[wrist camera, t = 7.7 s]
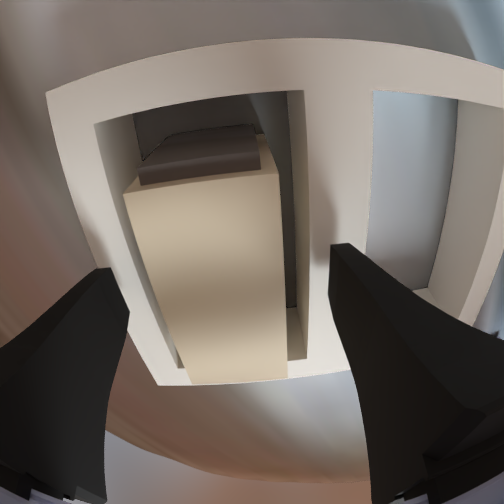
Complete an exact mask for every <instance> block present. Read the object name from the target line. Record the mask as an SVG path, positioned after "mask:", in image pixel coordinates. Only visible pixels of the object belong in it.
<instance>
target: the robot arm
mask: <svg viewBox="0 0 504 504" xmlns="http://www.w3.org/2000/svg"><path fill="white" fill-rule="evenodd" d="M328 299H329V303H330V308H331V312H332V316H333V320H334V323H335V326H336V329H337V332H338V335H339V337H340V340H341V343H342V346H343V349H344V351H345V354H346V357H347V360H348V363H349V366H350V368H351V371H352V374H353V377H354V381H355V384H356V388H357V392H358V397H359V402H360V407H361V412H362V418H363V424H364V430H365V436H366V443H367V451H368V459H369V469H370V481H371V499H372V504H504V340H502V339H501V338H500V337H499V336H498V337H495V336H492V335H490V334H487V333H485V332H483V331H481V330H478V329H476V328H474V327H472V326H470V325H468V324H466V323H464V322H462V321H460V320H458V319H456V318H454V317H453V316H451V315H449V314H447V313H445V312H444V311H442V310H440V309H439V308H437V307H435V306H434V305H432V304H431V303H429V302H427V301H426V300H424V299H423V298H421V297H420V296H418V295H417V294H415V293H414V292H412V291H411V290H410V289H408V288H407V287H405V286H404V285H402V284H401V283H400V282H398V281H397V280H396V279H394V278H393V277H392V276H391V275H389V274H388V273H387V272H385V271H384V270H383V269H382V268H380V267H379V266H378V265H377V264H375V263H374V262H373V261H372V260H370V259H369V258H368V257H367V256H365V255H364V254H363V253H362V252H360V251H359V250H358V249H357V248H355V247H354V246H353V245H351V244H350V243H340V244H331V245H330V262H329V280H328ZM129 316H130V310H129V308H128V306H127V304H126V302H125V299H124V297H123V295H122V293H121V290H120V288H119V286H118V283H117V281H116V279H115V276H114V274H113V271H112V269H111V267H107V268H98V269H95V270H93V271H92V272H91V273H89V274H88V275H87V276H85V277H84V278H83V279H82V280H81V281H79V282H78V283H77V284H76V285H75V286H74V287H73V288H71V289H70V290H69V291H68V292H67V293H66V294H65V295H64V296H63V297H61V298H60V299H59V300H58V301H57V302H56V303H55V304H54V305H53V306H52V307H50V308H49V309H48V310H47V311H46V312H45V313H44V314H42V315H41V316H40V317H39V318H38V319H37V320H36V321H35V322H34V323H32V324H31V325H30V326H29V327H28V328H26V329H25V330H24V331H23V332H21V333H20V334H19V335H18V336H16V337H15V338H14V339H12V340H11V341H10V342H8V343H7V344H6V345H4V346H3V347H1V348H0V504H71V503H68V502H65V501H63V498H66V499H69V500H72V501H73V500H74V499H77V500H80V501H84V502H87V503H91V504H104V503H106V502H107V495H106V486H105V474H104V439H105V438H104V437H105V424H106V415H107V407H108V400H109V396H110V391H111V387H112V383H113V380H114V376H115V373H116V369H117V366H118V362H119V359H120V356H121V352H122V349H123V345H124V342H125V339H126V334H127V328H128V322H129Z"/></svg>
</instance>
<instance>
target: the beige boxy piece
mask: <svg viewBox="0 0 504 504" xmlns="http://www.w3.org/2000/svg"><path fill="white" fill-rule="evenodd" d="M137 172H138V177H137V178H136V179H135V180H134V181H133V182H132V184H131V185H130V186H129V187H128V188H127V189H126V191H125V192H124V193H123V197H124V201H125V204H126V208H127V211H128V215H129V218H130V221H131V225H132V228H133V231H134V234H135V238H136V241H137V244H138V247H139V250H140V253H141V256H142V259H143V262H144V265H145V268H146V271H147V274H148V276H149V279H150V282H151V285H152V288H153V290H154V293H155V296H156V299H157V301H158V304H159V306H160V309H161V312H162V314H163V317H164V319H165V322H166V324H167V327H168V329H169V332H170V334H171V337H172V339H173V342H174V344H175V346H176V349H177V351H178V353H179V356H180V358H181V360H182V363H183V365H184V367H185V369H186V372H187V374H188V376H189V378H190V381H191V383H192V385H194V384H222V383H239V382H253V381H265V380H275V379H285V378H288V366H287V328H286V300H285V275H284V254H283V235H282V217H281V200H280V185H279V173H278V170H277V167H276V164H275V162H274V159H273V156H272V153H271V151H270V148H269V145H268V143H267V140H266V137H265V135H264V134H260V135H256V134H255V130H254V126H253V124H247V125H238V126H229V127H221V128H214V129H206V130H199V131H193V132H187V133H181V134H175V135H170V136H169V137H168V138H166V139H165V140H164V141H163V142H162V143H161V144H160V145H159V146H158V147H157V148H156V149H155V150H154V151H153V152H152V153H151V154H150V155H149V156H148V157H147V158H146V159H145V160H144V161H143V162H142V163H141V164H140V165H139V167H138V168H137Z"/></svg>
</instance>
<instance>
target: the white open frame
mask: <svg viewBox="0 0 504 504" xmlns="http://www.w3.org/2000/svg"><path fill="white" fill-rule="evenodd" d="M373 90H378V91H393V92H405V93H415V94H424V95H432V96H440V97H447V98H453V99H458V114H457V130H456V143H455V153H454V162H453V170H452V177H451V184H450V191H449V197H448V203H447V208H446V213H445V219H444V223H443V228H442V233H441V237H440V242H439V246H438V250H437V254H436V258H435V262H434V266H433V269H432V273H431V277H430V280H429V284H428V287H427V288H423V289H418V290H412V292H414V293H415V294H417V295H418V296H420V297H421V298H423V299H424V300H426V301H427V302H429V303H431V304H432V305H434V306H435V307H437V308H439V309H440V310H442V311H444V312H445V313H447V314H449V315H451V316H453V317H454V318H456V319H458V320H460V321H462V322H464V323H466V324H468V325H470V326H473V324H474V322H475V320H476V318H477V316H478V313H479V311H480V309H481V307H482V305H483V302H484V300H485V298H486V295H487V293H488V291H489V288H490V286H491V283H492V281H493V278H494V275H495V273H496V270H497V267H498V265H499V262H500V259H501V256H502V253H503V250H504V70H503V69H500V68H497V67H494V66H491V65H488V64H485V63H481V62H478V61H475V60H471V59H467V58H464V57H460V56H456V55H452V54H448V53H443V52H439V51H434V50H429V49H424V48H418V47H413V46H407V45H400V44H393V43H385V42H376V41H366V40H354V39H337V38H280V39H263V40H250V41H240V42H231V43H223V44H215V45H208V46H202V47H196V48H190V49H185V50H180V51H175V52H170V53H165V54H161V55H157V56H152V57H148V58H144V59H141V60H137V61H133V62H129V63H126V64H122V65H119V66H116V67H113V68H109V69H106V70H103V71H100V72H97V73H94V74H91V75H89V76H86V77H83V78H80V79H78V80H75V81H72V82H70V83H67V84H65V85H62V86H60V87H57V88H55V89H53V90H50V91H48V92H46V93H45V94H46V100H47V105H48V110H49V115H50V119H51V124H52V128H53V133H54V137H55V141H56V145H57V149H58V153H59V156H60V160H61V164H62V167H63V171H64V174H65V177H66V181H67V184H68V187H69V190H70V194H71V197H72V200H73V203H74V206H75V209H76V211H77V214H78V217H79V220H80V223H81V226H82V228H83V231H84V234H85V236H86V239H87V242H88V244H89V247H90V249H91V252H92V254H93V257H94V259H95V261H96V264H97V266H98V268H107V267H111V269H112V271H113V274H114V276H115V279H116V281H117V283H118V286H119V288H120V290H121V293H122V295H123V297H124V299H125V302H126V304H127V306H128V308H129V310H130V316H129V322H128V328H127V330H128V332H129V334H130V336H131V338H132V340H133V342H134V344H135V346H136V347H137V349H138V351H139V353H140V355H141V356H142V358H143V360H144V362H145V364H146V365H147V367H148V369H149V371H150V372H151V374H152V376H153V377H154V379H155V381H156V382H157V384H158V385H192V383H191V381H190V378H189V376H188V374H187V372H186V369H185V367H184V365H183V363H182V360H181V358H180V356H179V353H178V351H177V349H176V346H175V344H174V342H173V339H172V337H171V334H170V332H169V329H168V327H167V324H166V322H165V319H164V317H163V314H162V312H161V309H160V306H159V304H158V301H157V299H156V296H155V293H154V290H153V288H152V285H151V282H150V279H149V276H148V274H147V271H146V268H145V265H144V262H143V259H142V256H141V253H140V250H139V247H138V244H137V241H136V238H135V234H134V231H133V228H132V225H131V221H130V218H129V215H128V211H127V208H126V204H125V201H124V197H123V193H124V192H125V191H126V189H127V188H128V187H129V186H130V185H131V184H132V182H133V181H134V180H135V179H136V178H137V177H138V172H137V168H138V167H139V165H140V164H141V163H142V158H141V154H140V149H139V144H138V140H137V135H136V130H135V125H134V120H133V114H132V113H136V112H140V111H145V110H149V109H154V108H158V107H163V106H168V105H173V104H179V103H184V102H190V101H196V100H202V99H209V98H216V97H223V96H231V95H240V94H249V93H260V92H272V91H287V102H288V115H289V129H290V143H291V159H292V177H293V196H294V220H295V249H296V294H297V307H294V308H286V328H287V366H288V378H285V379H290V378H298V377H306V376H313V375H320V374H327V373H333V372H339V371H345V370H351V368H350V366H349V363H348V360H347V357H346V354H345V351H344V349H343V346H342V343H341V340H340V337H339V335H338V332H337V329H336V326H335V323H334V320H333V316H332V312H331V308H330V303H329V299H328V280H329V262H330V245H331V244H340V243H350V244H351V245H353V246H354V247H355V248H357V249H358V250H359V251H360V252H362V253H363V254H364V255H365V251H366V242H367V232H368V222H369V210H370V196H371V180H372V157H373ZM275 380H281V379H275ZM265 381H272V380H265ZM253 382H261V381H253ZM239 383H249V382H239ZM222 384H234V383H222ZM194 385H215V384H194Z"/></svg>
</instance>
